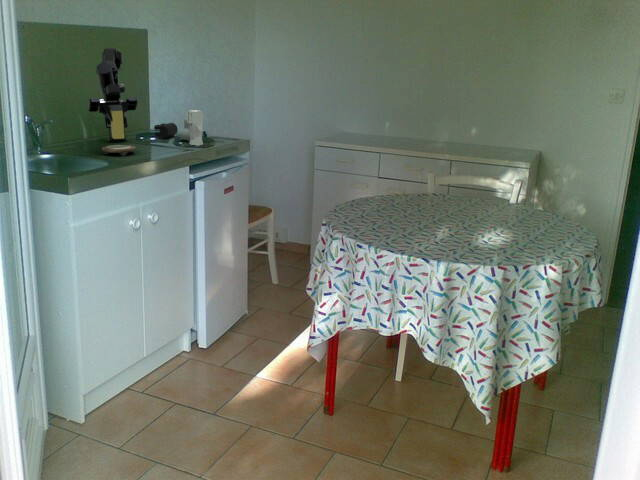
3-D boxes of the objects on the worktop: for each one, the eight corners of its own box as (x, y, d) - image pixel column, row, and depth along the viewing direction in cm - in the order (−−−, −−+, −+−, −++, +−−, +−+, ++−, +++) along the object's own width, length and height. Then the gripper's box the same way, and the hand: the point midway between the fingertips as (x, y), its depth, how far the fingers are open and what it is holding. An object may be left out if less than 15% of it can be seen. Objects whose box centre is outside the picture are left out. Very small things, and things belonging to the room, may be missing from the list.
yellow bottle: (111, 137, 259) (109, 104, 255) (121, 137, 261) (119, 104, 257) (114, 138, 255) (111, 105, 252) (124, 138, 257) (122, 105, 254)
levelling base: (95, 154, 257) (94, 147, 256) (117, 150, 268) (117, 143, 267) (120, 157, 252) (120, 150, 251) (142, 152, 263) (142, 146, 262)
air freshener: (188, 143, 290) (187, 120, 287) (176, 141, 295) (175, 119, 292) (206, 140, 298) (205, 118, 295) (194, 138, 303) (193, 117, 300)
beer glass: (189, 143, 288) (187, 109, 284) (204, 143, 289) (203, 110, 284) (187, 146, 282) (185, 111, 277) (203, 146, 282) (202, 111, 278)
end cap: (168, 139, 298) (167, 125, 296) (154, 139, 300) (153, 124, 298) (178, 137, 307) (177, 122, 305) (164, 136, 309) (164, 122, 307)
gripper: (86, 76, 250) (95, 108, 244) (134, 76, 259) (144, 106, 253) (84, 95, 258) (92, 126, 253) (131, 94, 268) (139, 124, 262)
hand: (117, 120), depth 255 cm, fingers closed on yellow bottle, 4 cm apart
